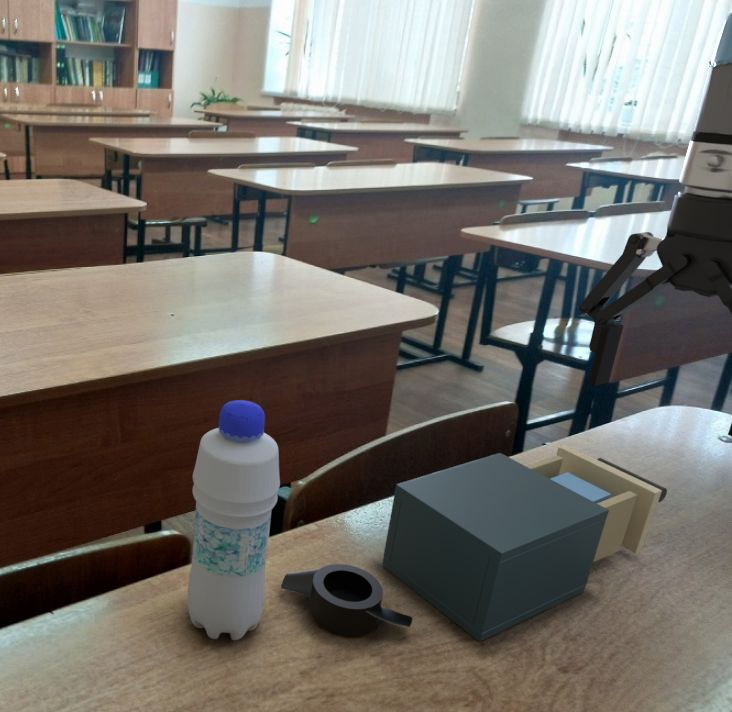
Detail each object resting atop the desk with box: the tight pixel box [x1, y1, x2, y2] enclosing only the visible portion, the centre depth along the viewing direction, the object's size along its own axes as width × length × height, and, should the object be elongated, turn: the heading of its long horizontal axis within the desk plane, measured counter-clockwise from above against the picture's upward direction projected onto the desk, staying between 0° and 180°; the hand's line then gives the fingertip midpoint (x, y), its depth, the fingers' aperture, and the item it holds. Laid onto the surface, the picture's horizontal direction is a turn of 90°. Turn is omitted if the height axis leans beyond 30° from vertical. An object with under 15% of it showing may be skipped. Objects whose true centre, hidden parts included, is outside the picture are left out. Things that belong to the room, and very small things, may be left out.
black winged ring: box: [280, 563, 413, 639], centre depth 62 cm, size 8×10×3 cm
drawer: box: [523, 444, 668, 563], centre depth 73 cm, size 18×10×7 cm, turn 120°
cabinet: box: [381, 452, 609, 643], centre depth 66 cm, size 14×11×9 cm
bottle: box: [187, 399, 281, 641], centre depth 57 cm, size 7×7×20 cm
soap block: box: [551, 472, 611, 503], centre depth 72 cm, size 5×5×5 cm
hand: (663, 406), depth 74 cm, fingers open, 13 cm apart
